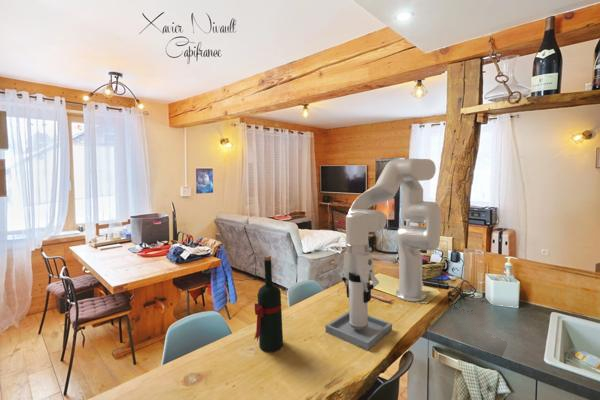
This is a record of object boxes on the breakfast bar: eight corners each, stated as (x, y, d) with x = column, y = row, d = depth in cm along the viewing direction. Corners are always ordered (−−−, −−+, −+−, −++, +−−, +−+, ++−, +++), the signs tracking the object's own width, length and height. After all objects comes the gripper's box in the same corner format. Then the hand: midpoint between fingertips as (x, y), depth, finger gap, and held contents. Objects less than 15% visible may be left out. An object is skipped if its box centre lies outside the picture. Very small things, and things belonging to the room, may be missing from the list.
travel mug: (369, 322, 107) (368, 267, 105) (365, 331, 101) (364, 273, 100) (352, 319, 110) (351, 265, 108) (347, 327, 104) (346, 271, 102)
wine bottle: (248, 348, 97) (244, 258, 95) (272, 335, 105) (269, 251, 102) (264, 358, 92) (259, 263, 89) (288, 344, 99) (284, 255, 96)
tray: (351, 315, 117) (351, 309, 117) (392, 330, 106) (391, 323, 105) (325, 332, 106) (325, 325, 106) (367, 350, 94) (367, 343, 94)
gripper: (385, 250, 100) (386, 302, 101) (343, 243, 112) (344, 289, 113) (374, 255, 94) (375, 310, 96) (330, 247, 106) (332, 296, 108)
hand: (358, 298), depth 105 cm, fingers closed on travel mug, 6 cm apart
